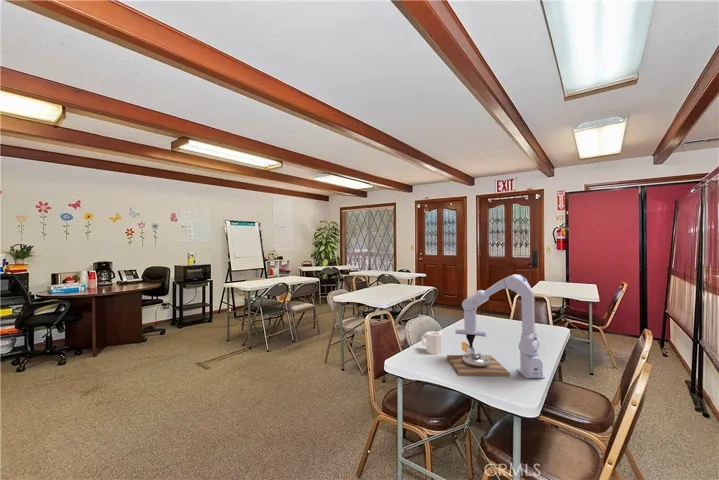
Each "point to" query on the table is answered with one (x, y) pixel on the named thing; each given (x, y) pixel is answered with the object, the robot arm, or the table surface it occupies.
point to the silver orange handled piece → (474, 357)
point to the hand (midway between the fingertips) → (471, 349)
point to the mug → (432, 342)
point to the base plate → (467, 370)
